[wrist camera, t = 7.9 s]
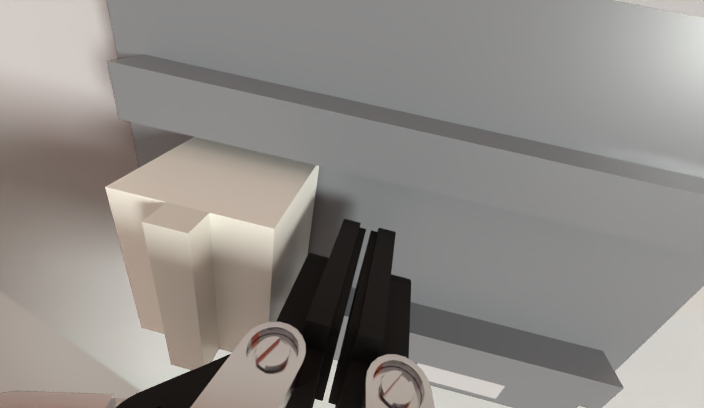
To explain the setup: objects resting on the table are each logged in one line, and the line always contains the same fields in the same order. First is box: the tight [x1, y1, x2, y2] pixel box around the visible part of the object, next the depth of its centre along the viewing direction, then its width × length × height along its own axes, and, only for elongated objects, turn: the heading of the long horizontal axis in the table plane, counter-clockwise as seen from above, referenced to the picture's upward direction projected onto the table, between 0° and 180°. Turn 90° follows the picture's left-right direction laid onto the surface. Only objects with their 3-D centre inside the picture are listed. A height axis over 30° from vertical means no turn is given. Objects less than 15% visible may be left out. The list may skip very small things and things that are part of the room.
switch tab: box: [105, 137, 319, 370], centre depth 10 cm, size 4×5×5 cm
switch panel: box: [107, 0, 704, 408], centre depth 12 cm, size 20×16×4 cm
